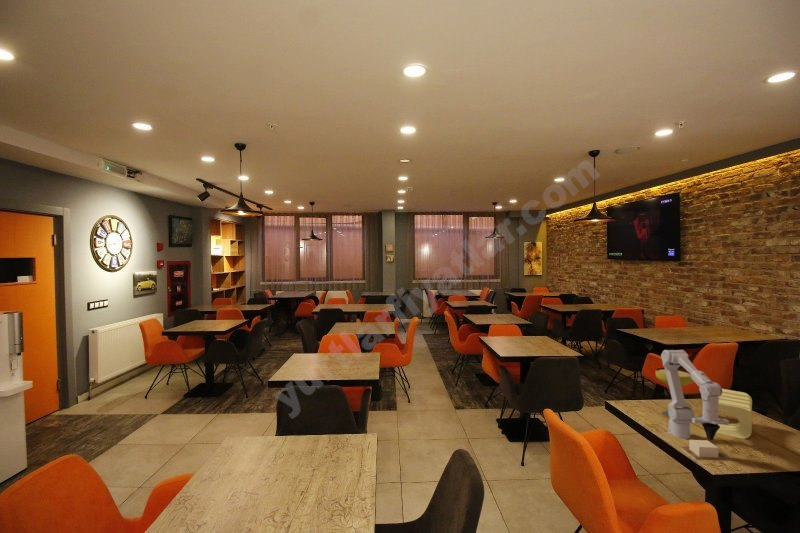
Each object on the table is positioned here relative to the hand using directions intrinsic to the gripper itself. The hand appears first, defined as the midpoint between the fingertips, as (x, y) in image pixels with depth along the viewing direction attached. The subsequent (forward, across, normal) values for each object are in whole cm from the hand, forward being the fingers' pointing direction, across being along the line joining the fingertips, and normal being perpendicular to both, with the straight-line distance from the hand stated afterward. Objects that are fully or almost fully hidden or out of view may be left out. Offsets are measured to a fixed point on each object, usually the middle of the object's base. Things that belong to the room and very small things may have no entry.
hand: (710, 439), depth 179 cm
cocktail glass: (+8, +12, +49) cm, 51 cm away
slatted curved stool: (+8, +29, +29) cm, 42 cm away
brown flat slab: (+8, -1, 0) cm, 8 cm away
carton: (+4, +1, 0) cm, 5 cm away
